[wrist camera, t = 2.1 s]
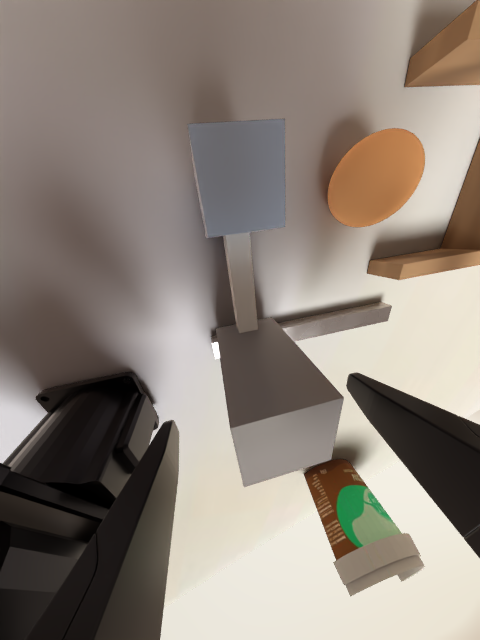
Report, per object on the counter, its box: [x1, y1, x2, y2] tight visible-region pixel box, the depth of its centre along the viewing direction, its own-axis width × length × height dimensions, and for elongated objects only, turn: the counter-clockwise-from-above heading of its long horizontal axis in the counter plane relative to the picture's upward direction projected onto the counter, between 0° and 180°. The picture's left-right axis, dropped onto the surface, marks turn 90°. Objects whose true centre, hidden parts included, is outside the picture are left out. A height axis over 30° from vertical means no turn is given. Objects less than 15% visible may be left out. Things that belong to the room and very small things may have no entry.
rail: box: [211, 302, 392, 359], centre depth 14 cm, size 15×1×1 cm, turn 97°
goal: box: [367, 0, 480, 280], centre depth 11 cm, size 8×11×2 cm
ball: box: [328, 128, 425, 227], centre depth 9 cm, size 4×4×4 cm
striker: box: [188, 119, 344, 487], centre depth 8 cm, size 4×12×8 cm, turn 7°
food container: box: [304, 459, 425, 596], centre depth 23 cm, size 12×6×10 cm, turn 55°
